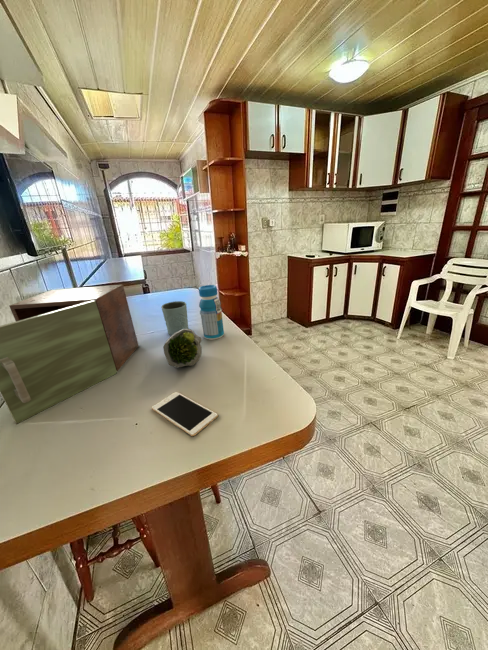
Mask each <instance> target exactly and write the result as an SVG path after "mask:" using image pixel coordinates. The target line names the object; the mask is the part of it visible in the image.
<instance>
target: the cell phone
mask: <svg viewBox="0 0 488 650" xmlns="http://www.w3.org/2000/svg"><path fill="white" fill-rule="evenodd" d="M151 409H152V410H153V411H154V412H155V413H157V414H159V415H160V416H162V417H163V418H165V419H166V420H168V421H169V422H171V423H172V424H173V425H175V426H176V427H178V428H179V429H181V430H183V431H184V432H185V433H187V434H188V435H190V436H191V437H194V436H196V435H197V434H198V433H200V432H201V431H202V430H203V429H204V428H206V427H207V426H208V425H210V424H211V423H212V422H214V420H216V419H217V418H218V413H217V412H215V411H213V410H211V409H210V408H207V407H206V406H204V405H203V404H200V403H199V402H197V401H195V400H194V399H191V398H189V397H188V396H185V395H184V394H182V393H181V392H179V391H175V392H173V393H172V394H169V395H168V396H166V397H165V398H163V399H162V400H160V401H159V402H157V403H155V404H154V405H152V406H151Z"/></svg>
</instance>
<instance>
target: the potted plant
mask: <svg viewBox="0 0 488 650" xmlns="http://www.w3.org/2000/svg"><path fill="white" fill-rule="evenodd" d="M202 341H203V338H202V337H201V336H199V335H197V334H196V333H195V331H194V330H192V329H190V328H188V329H183V330H180V331H178V332H176V333H174V334H173V335H170V337H169V338H167V340H166V341H165V342H164V344H163V347H162V350H163V353H164V355H165V358H166V361H167V363H168V365H169V366H172V367H174V368H176V369H177V368H182V367H187V366H188V367H193V366H195V364H197V362H198V361H199V360H200V358H201V356H202V352H203V351H202V349H203V348H202V345H201V342H202Z"/></svg>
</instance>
